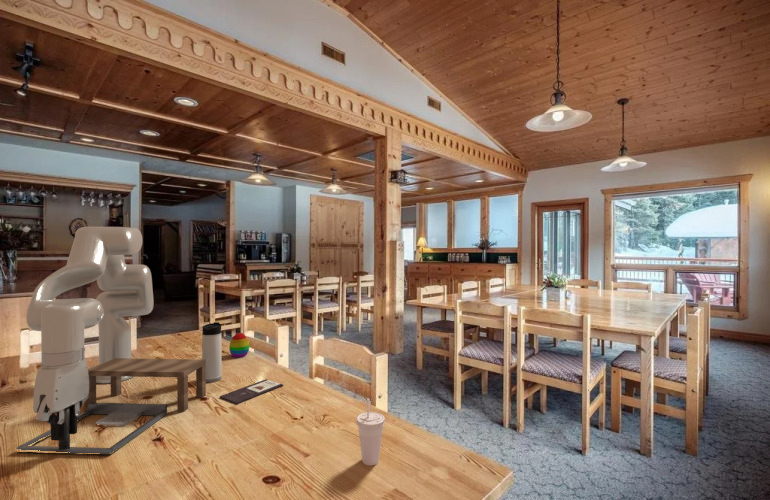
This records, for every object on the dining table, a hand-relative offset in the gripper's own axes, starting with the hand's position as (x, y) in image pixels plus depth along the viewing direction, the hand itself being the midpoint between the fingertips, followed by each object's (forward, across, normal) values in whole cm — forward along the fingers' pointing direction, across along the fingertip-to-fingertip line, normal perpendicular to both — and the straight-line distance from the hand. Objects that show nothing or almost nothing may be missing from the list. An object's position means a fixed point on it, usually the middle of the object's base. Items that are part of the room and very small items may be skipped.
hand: (64, 436), depth 86 cm
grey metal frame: (+4, -10, 0) cm, 11 cm away
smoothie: (+4, 0, +71) cm, 71 cm away
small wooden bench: (+4, -28, 0) cm, 29 cm away
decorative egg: (+4, -77, +7) cm, 78 cm away
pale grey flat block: (+5, -16, 0) cm, 17 cm away
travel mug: (+4, -48, +10) cm, 50 cm away
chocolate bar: (+5, -38, +29) cm, 48 cm away
